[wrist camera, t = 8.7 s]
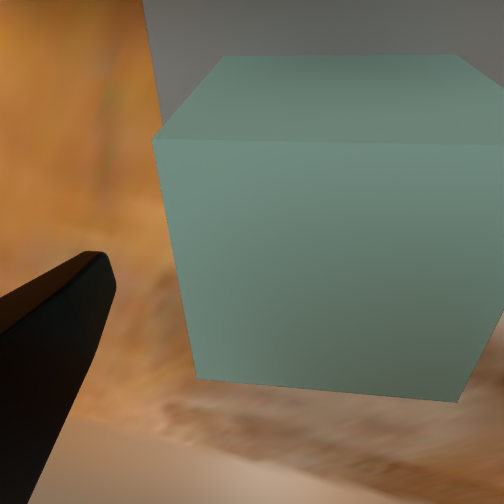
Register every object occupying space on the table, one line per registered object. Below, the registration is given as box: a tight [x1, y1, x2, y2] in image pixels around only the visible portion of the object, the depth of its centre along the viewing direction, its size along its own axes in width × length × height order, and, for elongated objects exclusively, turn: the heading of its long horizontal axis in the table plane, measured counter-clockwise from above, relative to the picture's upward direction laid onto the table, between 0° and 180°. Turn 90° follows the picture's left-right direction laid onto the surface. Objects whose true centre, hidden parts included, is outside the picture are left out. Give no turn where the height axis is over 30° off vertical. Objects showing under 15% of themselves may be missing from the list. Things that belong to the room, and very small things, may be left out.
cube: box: [152, 55, 504, 403], centre depth 10 cm, size 6×6×6 cm
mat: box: [142, 0, 504, 125], centre depth 12 cm, size 10×10×1 cm
